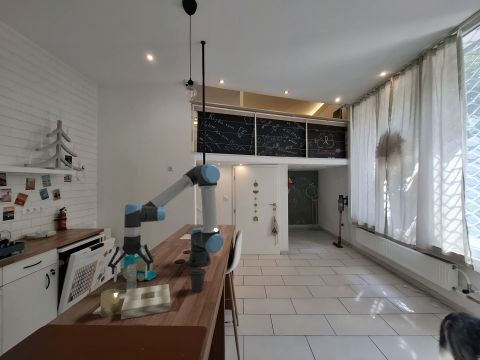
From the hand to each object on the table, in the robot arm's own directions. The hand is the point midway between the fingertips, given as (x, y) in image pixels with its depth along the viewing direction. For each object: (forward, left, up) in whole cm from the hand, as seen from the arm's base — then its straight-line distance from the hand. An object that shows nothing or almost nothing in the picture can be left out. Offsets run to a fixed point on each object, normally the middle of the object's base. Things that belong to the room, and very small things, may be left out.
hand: (131, 279), depth 109 cm
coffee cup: (-31, +10, -6) cm, 33 cm away
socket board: (-8, +16, -6) cm, 19 cm away
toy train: (-3, -16, -6) cm, 17 cm away
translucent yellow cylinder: (+6, +18, -6) cm, 20 cm away
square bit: (0, 0, -6) cm, 6 cm away
